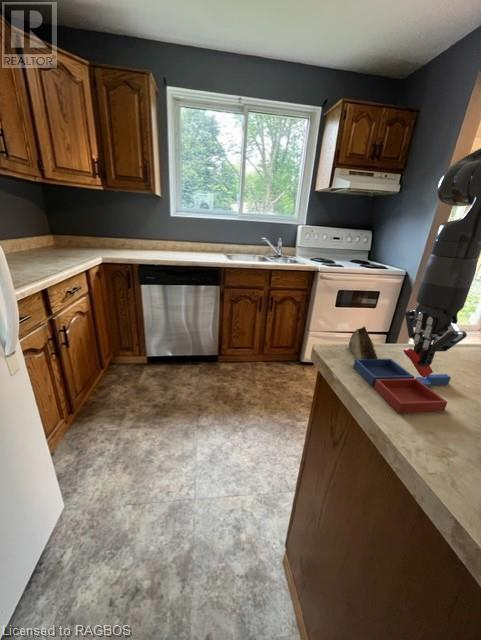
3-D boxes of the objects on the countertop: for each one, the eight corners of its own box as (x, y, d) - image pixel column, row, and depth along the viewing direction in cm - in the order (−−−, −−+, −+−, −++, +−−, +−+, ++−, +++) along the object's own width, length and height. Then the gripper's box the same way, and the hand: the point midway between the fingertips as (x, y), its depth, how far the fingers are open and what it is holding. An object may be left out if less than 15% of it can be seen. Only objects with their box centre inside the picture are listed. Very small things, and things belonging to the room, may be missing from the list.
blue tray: (388, 366, 73) (391, 358, 72) (411, 385, 65) (414, 376, 64) (353, 367, 72) (354, 359, 71) (371, 386, 63) (374, 377, 63)
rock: (340, 339, 84) (337, 345, 75) (362, 320, 80) (362, 324, 71) (367, 366, 81) (367, 375, 72) (390, 347, 78) (394, 355, 69)
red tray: (413, 387, 64) (416, 378, 63) (444, 411, 56) (447, 402, 55) (373, 388, 63) (375, 379, 62) (398, 413, 55) (401, 403, 54)
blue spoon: (440, 379, 68) (443, 372, 67) (451, 387, 65) (454, 379, 64) (411, 380, 67) (413, 372, 66) (420, 388, 64) (423, 380, 63)
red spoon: (416, 372, 59) (425, 366, 59) (427, 380, 56) (436, 374, 56) (401, 347, 56) (410, 341, 56) (411, 354, 53) (421, 348, 53)
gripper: (500, 290, 44) (464, 381, 50) (435, 274, 57) (413, 348, 63) (459, 289, 43) (428, 382, 49) (402, 273, 56) (383, 349, 62)
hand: (419, 363), depth 56 cm, fingers closed on red spoon, 1 cm apart
